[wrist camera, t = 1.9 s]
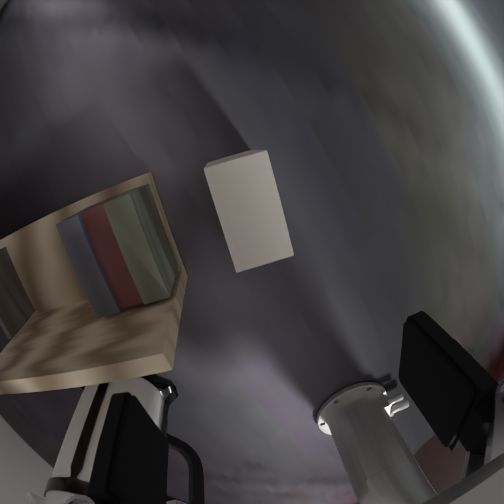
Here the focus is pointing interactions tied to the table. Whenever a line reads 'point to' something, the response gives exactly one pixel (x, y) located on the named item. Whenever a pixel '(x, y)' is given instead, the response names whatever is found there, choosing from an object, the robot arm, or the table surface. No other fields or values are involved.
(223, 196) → the boxed book
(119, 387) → the coffee press
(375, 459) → the robot arm
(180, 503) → the ink cartridge box
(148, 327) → the bookshelf
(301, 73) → the table surface
